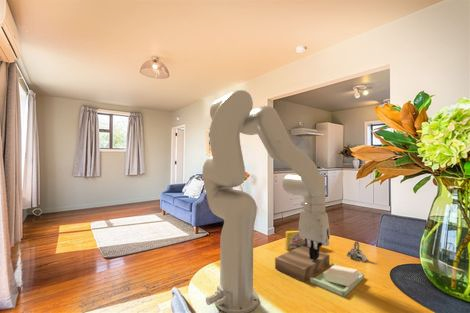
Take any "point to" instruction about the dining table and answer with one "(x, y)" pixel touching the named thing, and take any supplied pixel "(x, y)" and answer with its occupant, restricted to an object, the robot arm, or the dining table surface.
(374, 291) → the dining table surface
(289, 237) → the candy box
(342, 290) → the tray
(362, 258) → the house of cards
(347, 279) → the tile
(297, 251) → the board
